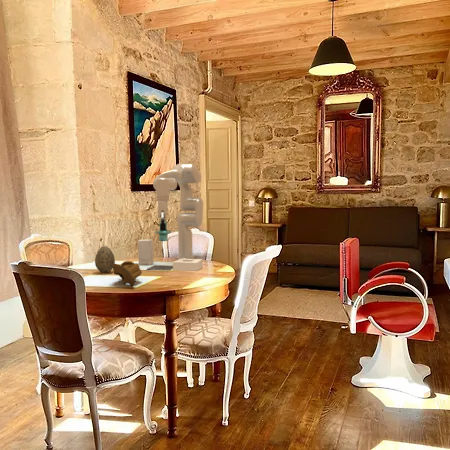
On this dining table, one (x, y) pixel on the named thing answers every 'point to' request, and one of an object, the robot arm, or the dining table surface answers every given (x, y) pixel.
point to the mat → (160, 267)
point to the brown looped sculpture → (127, 271)
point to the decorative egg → (104, 259)
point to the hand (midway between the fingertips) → (163, 229)
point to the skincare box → (145, 252)
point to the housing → (187, 264)
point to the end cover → (163, 233)
